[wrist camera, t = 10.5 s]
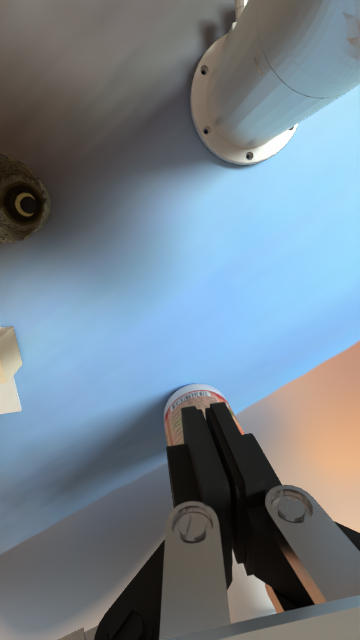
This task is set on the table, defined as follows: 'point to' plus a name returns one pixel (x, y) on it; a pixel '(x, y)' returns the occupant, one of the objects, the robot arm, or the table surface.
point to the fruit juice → (244, 590)
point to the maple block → (8, 354)
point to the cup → (5, 201)
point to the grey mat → (9, 397)
